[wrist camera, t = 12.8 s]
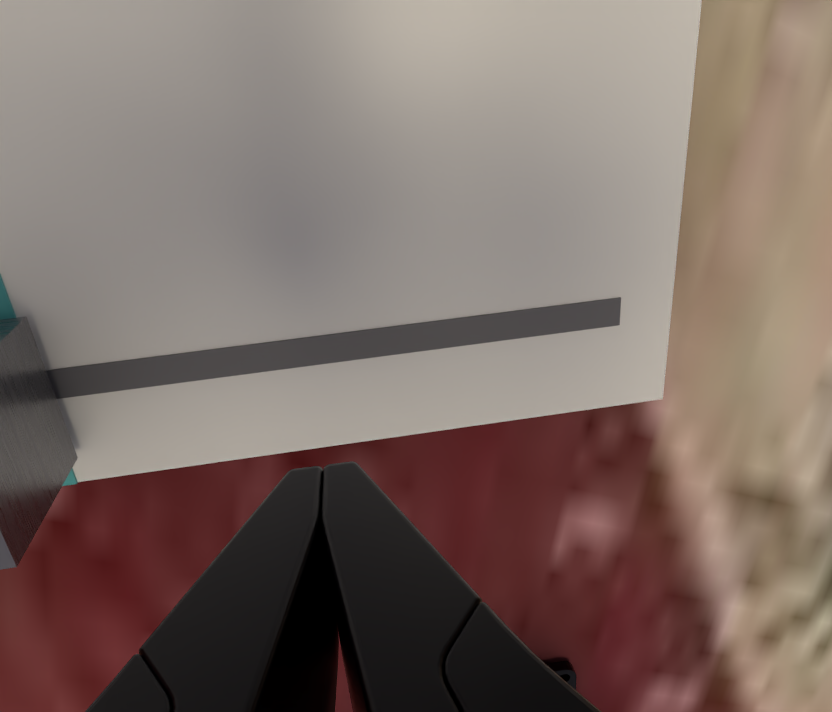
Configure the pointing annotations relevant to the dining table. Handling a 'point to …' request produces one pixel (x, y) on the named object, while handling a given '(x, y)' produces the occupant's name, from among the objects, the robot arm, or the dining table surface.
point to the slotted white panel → (338, 215)
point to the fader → (27, 441)
